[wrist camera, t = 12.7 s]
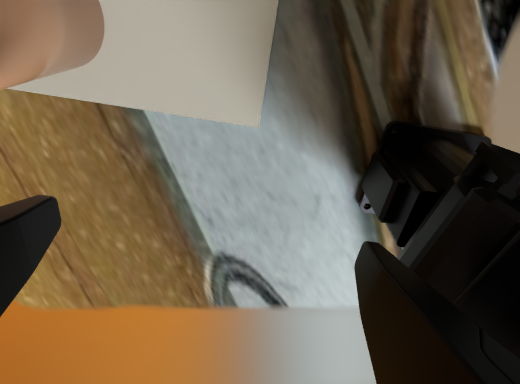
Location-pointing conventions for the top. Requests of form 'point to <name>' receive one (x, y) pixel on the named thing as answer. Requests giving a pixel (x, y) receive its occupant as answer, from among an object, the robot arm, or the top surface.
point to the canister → (47, 37)
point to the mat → (177, 59)
